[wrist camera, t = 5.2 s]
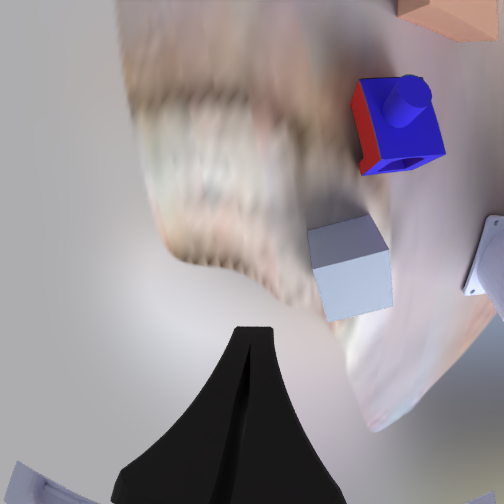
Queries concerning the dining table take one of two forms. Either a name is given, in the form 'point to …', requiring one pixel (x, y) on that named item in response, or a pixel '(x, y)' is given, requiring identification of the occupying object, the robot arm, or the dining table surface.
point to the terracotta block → (454, 18)
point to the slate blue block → (351, 268)
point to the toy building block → (395, 124)
